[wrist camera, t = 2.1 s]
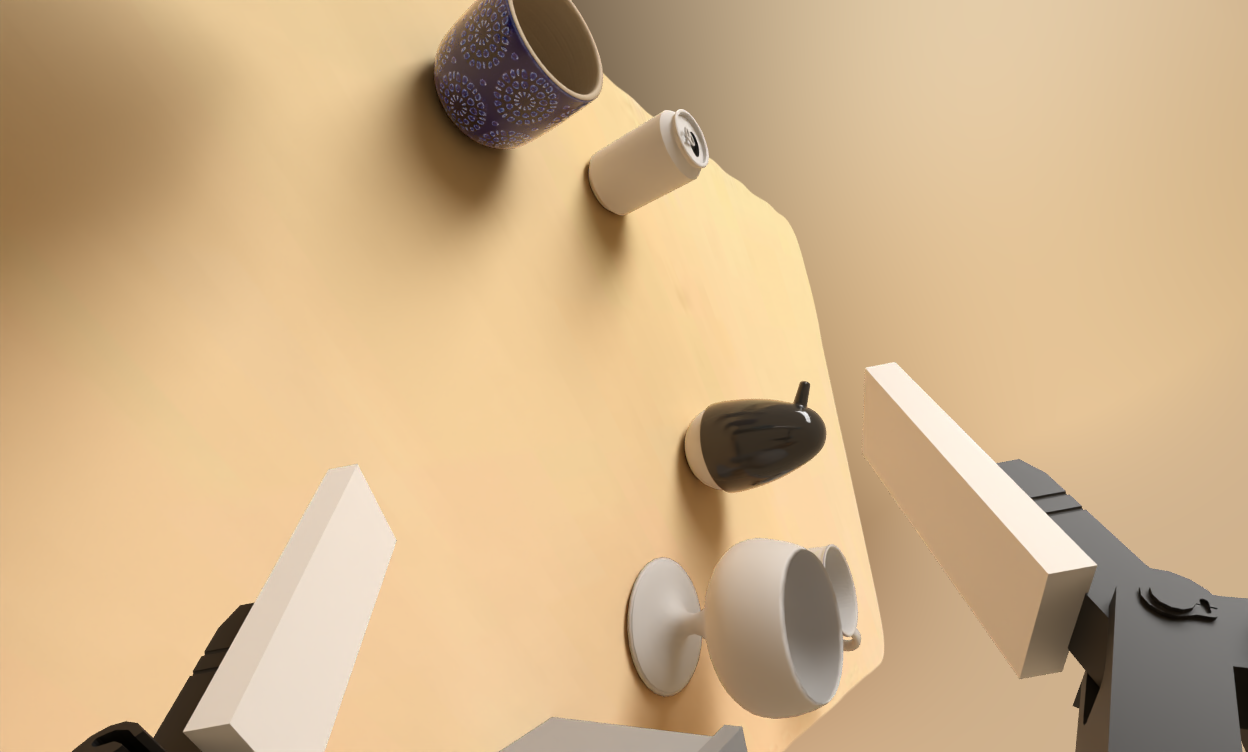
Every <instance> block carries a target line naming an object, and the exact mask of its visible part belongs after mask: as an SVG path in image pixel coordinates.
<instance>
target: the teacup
mask: <svg viewBox="0 0 1248 752" xmlns="http://www.w3.org/2000/svg"><path fill="white" fill-rule="evenodd" d="M807 550H809V551H810V552H812V553H814V554H815V555H816V556H817V557H818V559H819V560H820V561H821V562H822V564H823V566H824V567H825V569H826V571H827V573H828V575H829V578H830V580H831V582H832V585H833V588H834V591H835V595H836V598H837V602H838V607H839V611H840V618H841V624H842V634H843V636H846V637H852V638H853V639H851V640H843V651H853V650H855V649H857V648H858V647H859V645H860V642H861V635H860V632H859V631H858V629H857V628H856V627H857V620H858V608H857V597H856V592H855V586H854V582H853V579H852V575H851V572H850V569H849V566H848V563H847V561H846V559H845V557H844V555H843V554H842V552H841V551H840V549H839V548H838V547H837V546H835V545H828V546H825V547H817V548H809V549H807Z"/></svg>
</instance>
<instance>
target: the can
mask: <svg viewBox="0 0 1248 752" xmlns="http://www.w3.org/2000/svg"><path fill="white" fill-rule="evenodd" d="M708 159H709V156H708V148H707V144H706V141H705V138H704V136H703V133H702V131H701V129H700V127H699V125H698V124H697V122H696V121H695V119H694V118H693V117H692V116H691V115H690V114H689V113H688V112H687V111H685V110H683V109H679V110H677V111H676V112H673V111H668V110H667V111H666V110H664V111H663V112H661V113H660V114H658V115H656V116H655V117H653V118H651V119H650V120H648V121H647V122H645V123H643V124H642V125H640V126H638V127H637V128H635V129H633V130H632V131H630V132H629V133H627V134H625V135H624V136H622V137H620V138H619V139H617V140H616V141H614V142H612V143H611V144H609V145H607V146H606V147H604V148H603V149H601V150H599V151H598V152H596V153H595V154H594V155H592V157H591V160H590V166H589V170H588V178H589V182H590V186H591V188H592V191H593V193H594V195H595V196H596V198H597V200H598V201H599V202H600V203H601V204H602V206H603V207H605V208H606V209H607V210H609V211H612V212H614V213H615V214H618V215H621V216H622V215H626V214H628V213H630V212H632V211H634V210H636V209H638V208H640V207H642V206H644V205H646V204H648V203H650V202H652V201H654V200H656V199H658V198H660V197H662V196H664V195H665V194H667V193H669V192H671V191H673V190H675V189H677V188H679V187H681V186H683V185H685V184H687V183H689V182H691V181H693V180H695V179H696V178H697V177H698V176H699V174H700V171H701V168H705V167H706V165H707V164H708Z"/></svg>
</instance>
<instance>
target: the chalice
mask: <svg viewBox="0 0 1248 752" xmlns="http://www.w3.org/2000/svg"><path fill="white" fill-rule="evenodd" d="M702 637H703V638H704V639H705V640H706V642H707V647H708V651H709V655H710V659H711V661H712V664H713V666H714V669H715V671H716V674H717V676H718V678H719V680H720V682H721V683H722V685H723V687H724V688H725V690H726V691H727V693H728V694H729V695H730V696H731V697H732V698H733V699H734V701H735V702H737V703H738V704H739V705H740V706H741V707H742V708H744V709H745V710H747V711H749V712H751V713H752V714H754V715H758V716H761V717H766V718H773V719H778V718H789V717H794V716H799V715H802V714H805V713H808V712H811V711H814V710H816V709H818V708H820V707H822V706H824V705H826V704H827V703H828V702H829V701H830V700H831V699H832V698H833V697H834V695H835V694H836V691H837V689H838V686H839V683H840V678H841V674H842V665H843V634H842V624H841V618H840V611H839V607H838V602H837V598H836V595H835V591H834V588H833V585H832V582H831V580H830V578H829V575H828V573H827V571H826V569H825V567H824V566H823V564H822V562H821V561H820V560H819V559H818V557H817V556H816V555H815V554H814V553H812V552H810V551H809V550H807V549H806V548H804V547H801V546H799V545H796V544H793V543H789V542H786V541H779V540H772V539H763V538H754V539H748V540H745V541H742V542H739V543H737V544H736V545H734V546H732V547H731V548H730V549H729V550H728V551H726V552H725V554H724V555H723V556H722V557H721V558H720V560H719V561H718V563H717V564H716V566H715V568H714V570H713V573H712V576H711V578H710V581H709V584H708V588H707V592H706V598H705V608H704V609H703V610H700V604H699V600H698V597H697V593H696V590H695V588H694V586H693V583H692V581H691V579H690V578H689V576H688V575H687V573H686V572H685V570H684V569H683V568H682V567H681V566H680V565H679V564H678V563H677V562H675V561H674V560H672V559H670V558H665V557H661V558H656V559H653V560H652V561H650V562H649V563H647V564H646V566H645V567H644V568H643V569H642V570H641V572H640V573H639V575H638V577H637V579H636V581H635V583H634V586H633V589H632V593H631V596H630V601H629V608H628V639H629V647H630V651H631V655H632V659H633V662H634V665H635V667H636V669H637V672H638V674H639V676H640V678H641V679H642V680H643V682H644V683H645V685H646V686H647V687H648V688H649V689H650V690H651V691H653V692H654V693H655V694H658V695H661V696H663V697H665V696H673V695H675V694H677V693H679V692H680V691H681V690H682V689H683V688H684V687H685V686H686V685H687V684H688V682H689V680H690V679H691V677H692V675H693V673H694V672H695V669H696V666H697V663H698V660H699V655H700V650H701V644H702Z"/></svg>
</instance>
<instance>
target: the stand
mask: <svg viewBox="0 0 1248 752" xmlns="http://www.w3.org/2000/svg"><path fill="white" fill-rule="evenodd" d="M500 752H747V748H746V743H745V738H744V733H743V728H742V727H740V726H730V725H724V726H723V727H722V728H721V729H720V730H719V731H718V732H717V733H716V734H715V735H714V736H705V735H697V734H689V733H680V732H672V731H664V730H656V729H647V728H639V727H631V726H623V725H614V724H606V723H598V722H590V721H581V720H573V719H565V718H557V717H552V718H550V719H549V720H547V721H546V722H544V723H542V724H541V725H539V726H538V727H536V728H535V729H533V730H532V731H530V732H529V733H527V734H526V735H524V736H523V737H521V738H520V739H518V740H516V741H515V742H513V743H512V744H510V745H509V746H507V747H506V748H504V749H503V750H501V751H500Z"/></svg>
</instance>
